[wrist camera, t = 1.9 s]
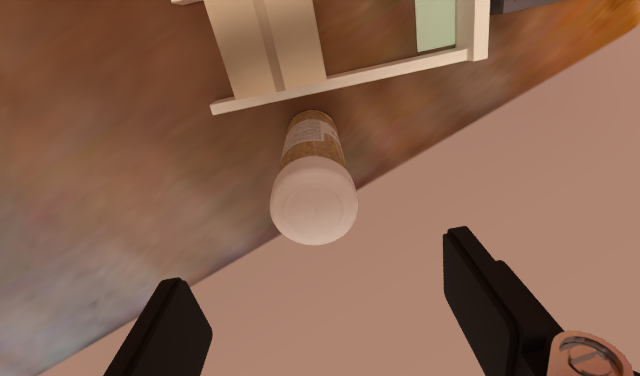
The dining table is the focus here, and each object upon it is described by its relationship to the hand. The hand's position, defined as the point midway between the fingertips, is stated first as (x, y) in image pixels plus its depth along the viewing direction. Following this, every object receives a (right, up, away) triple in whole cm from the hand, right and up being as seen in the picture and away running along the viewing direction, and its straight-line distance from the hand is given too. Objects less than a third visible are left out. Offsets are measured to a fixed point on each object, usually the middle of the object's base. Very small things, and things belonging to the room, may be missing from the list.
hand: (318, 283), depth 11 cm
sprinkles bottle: (-1, +8, +16) cm, 18 cm away
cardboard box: (-3, +15, +13) cm, 20 cm away
